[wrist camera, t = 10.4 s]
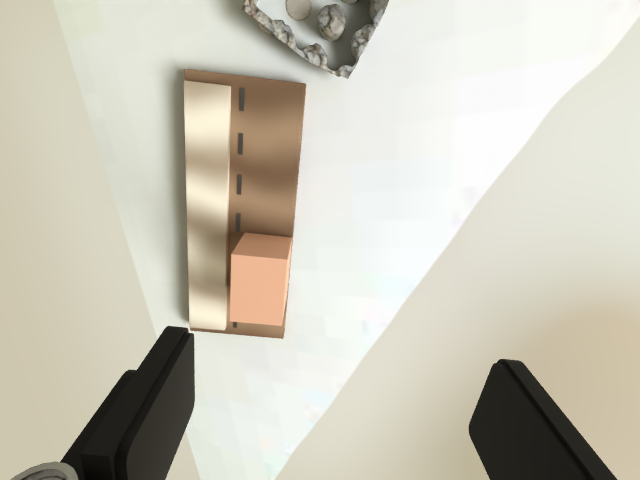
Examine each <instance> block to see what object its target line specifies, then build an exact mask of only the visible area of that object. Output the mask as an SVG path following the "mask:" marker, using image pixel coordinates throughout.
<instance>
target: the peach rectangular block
mask: <svg viewBox="0 0 640 480" xmlns="http://www.w3.org/2000/svg"><path fill="white" fill-rule="evenodd" d="M291 245H292V237H284V236H275V235H265V234H255V233H244V235H243V236H242V238H241V240H240V241H239V243H238V244H237V246H236V248H235V249H234V251H233V252H232V254H231V291H230V321H231V322H243V323H254V324H265V325H276V326H282V322H283V316H284V310H285V305H286V299H287V290H288V279H289V268H290V256H291Z"/></svg>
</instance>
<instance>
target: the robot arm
mask: <svg viewBox="0 0 640 480" xmlns="http://www.w3.org/2000/svg"><path fill="white" fill-rule="evenodd" d="M194 401H195V385H194V334H193V333H188V328H183V327H173V326H167V327H166V328H165V329H164V331H163V332H162V334H161V335H160V337H159V338H158V340H157V341H156V343H155V344H154V346H153V347H152V349H151V350H150V352H149V353H148V355H147V356H146V357H145V359H144V360H143V362H142V363H141V365H140V367H139V368H138V369H137V370H128V371H126V372H125V373H124V374H123V375H122V377H121V378H120V379H119V381H118V382H117V384H116V385H115V386H114V388H113V389H112V390H111V392H110V393H109V395H108V396H107V397H106V399H105V400H104V402H103V403H102V404H101V406H100V407H99V408H98V410H97V411H96V413H95V414H94V415H93V417H92V418H91V420H90V421H89V422H88V424H87V425H86V427H85V428H84V429H83V431H82V432H81V434H80V435H79V436H78V438H77V439H76V440H75V442H74V443H73V445H72V446H71V447H70V449H69V450H68V452H67V453H66V454H65V456H64V457H63V459H62V460H61V461H60V462H51V463H43V464H40V465H37V466H34V467H31V468H29V469H27V470H25V471H24V472H22V473H20V474H18V475H16V476H15V477H14V478H12V479H11V480H165V479H166V476H167V473H168V471H169V469H170V466H171V464H172V461H173V459H174V456H175V454H176V451H177V449H178V446H179V444H180V441H181V439H182V436H183V434H184V432H185V429H186V427H187V424H188V422H189V419H190V417H191V414H192V411H193V408H194ZM469 434H470V437H471V440H472V442H473V444H474V446H475V448H476V450H477V452H478V455H479V456H480V459H481V461H482V463H483V465H484V467H485V469H486V472H487V474H488V476H489V478H490V480H617V479H616V477H615V476H614V475H613V474H612V473H611V471H610V470H609V469H608V468H607V466H606V465H605V464H604V463H603V461H602V460H601V459H600V458H599V456H598V455H597V454H596V453H595V451H594V450H593V449H592V448H591V447H590V445H589V444H588V443H587V442H586V440H585V439H584V438H583V437H582V435H581V434H580V433H579V432H578V431H577V429H576V428H575V427H574V426H573V424H572V423H571V422H570V421H569V419H568V418H567V417H566V416H565V414H564V413H563V412H562V411H561V409H560V408H559V407H558V406H557V404H556V403H555V402H554V401H553V399H552V398H551V397H550V396H549V395H548V393H547V392H546V391H545V390H544V388H543V387H542V386H541V385H540V383H539V382H538V381H537V380H536V378H535V377H534V376H533V375H532V373H531V372H530V371H529V370H528V368H527V367H526V366H525V365H524V364H523V363H522V362H521V361H517V360H507V359H500V360H499V361H498V362H497V363H495V364H493V366H492V368H491V370H490V373H489V375H488V378H487V380H486V383H485V385H484V388H483V390H482V393H481V395H480V398H479V400H478V403H477V406H476V408H475V411H474V413H473V416H472V418H471V421H470V424H469Z"/></svg>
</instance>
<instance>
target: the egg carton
mask: <svg viewBox="0 0 640 480" xmlns="http://www.w3.org/2000/svg"><path fill="white" fill-rule="evenodd" d="M257 1H258V0H246V1H245V3H244V5H243V7H242V10H243V9H244V11H246V12H247V13H248V14H249V15H250V16H252V17H254V18H255V19H256V20H258V25H259V28H260V29H261V30H263V31H264V32H265V33H267V34H268V35H272V33H274V34H275V36H276V37H277V38H278V39H279V40H281V41H282V42H283V43H285V44H287V45H288V46H289V47H290V48H292V49H293V50H294V51H295V52H296V53H297V54H299V55H300V56H301V57H302V58H304V59H305V60H307V61H309V62H310V63H312V64H314V65H316V66H318V67H320V68H322V69H324V70H326V71H328V72H330V73H332V74H334V75H336V76H338V77H339V76H342V77H345V78H347V79H348V78H349V76H350V74H351V72H352V71H353V70H354V68H355V66H356V64H357V62H358V60H359V57H360V55H361V54H362V53H363V51H364V50H365V48H366V46H367V43H368V41H369V40H370V38H371V36H372V34H373V32H374V30H375V28H376V27H377V26H378V24H379V22H380V20H381V18H382V16H383V14H384V12H385V9H386V7H387V4H388V1H389V0H369V1H370V2H371V6H370V16H371V19H372V21H373V24H372V25H370V24H366V25H365V26H363V27H362V28H361V29H360V30H358V31H356V32H355V34H354V36H353V39H352V42H351V46H350V47H351V53H352V55H353V57H354V58H355V59H356V61H355V63H354V65H353V66H348V65H343V66H341V67H339V68H338V69H337V70H336V71H333V70H331V69H329V68H328V67H327V56H326V53H325V52H324V50H323V49H322V47H321V46H320V45H319V44H317V43H316V44H314V45H309V46H307V47H306V48H304V50H302V51H301V50H299V49H298V48H297V47H296V43H295V37H294V35H293V34H292V30H291V29H290V27H289V26H288V25H285V23H284V22H283V20H274V21H273V20H272V19H270V18H269V17H268V16H267V15H266V14H264V13H263V12H262V11H261V10H259V8H258V7H257V6H256V4H257ZM342 1H343V2H345V3H347V4H353V3H355V2H357V1H358V0H342ZM286 10H287V12H288V15H289V16H290V17H291V18H292V19H295V20H297V21H299V20H303V19H305V18H306V17H308V15H309V14H310V11H311V2H310V0H287V1H286ZM318 24H319V31H320V34H321V35H322V37H323V38H324V39H326V40H327V41H335V40H337V39H339V38H341V36H342V34H343V31H344V28H345V25H346V16H345V14H344V12H343V10H342V8H341V7H340V6H339V5H337V4H333V5H327V6H325V7H323V8H322V10H321V12H320V14H319V17H318Z"/></svg>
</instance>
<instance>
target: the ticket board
mask: <svg viewBox="0 0 640 480" xmlns="http://www.w3.org/2000/svg"><path fill="white" fill-rule="evenodd" d="M184 73H185V80H184V115H185V157H186V199H187V241H188V282H189V324H190V330H191V331H202V332H213V333H225V334H236V335H247V336H259V337H270V338H281V339H283V337H284V331H285V319H286V308H287V299H286V305H285V310H284V316H283V322H282V326H276V325H265V324H254V323H243V322H231V321H230V291H231V254H232V252H233V251H234V249H235V248H236V246H237V244H238V243H239V241H240V240H241V238H242V236H243V235H244V233H255V234H265V235H275V236H284V237H292V240H293V229H294V218H295V206H296V195H297V184H298V173H299V161H300V150H301V139H302V127H303V116H304V105H305V94H306V84H304V83H296V82H288V81H280V80H272V79H263V78H255V77H247V76H239V75H231V74H223V73H214V72H206V71H198V70H190V69H184ZM291 252H292V245H291ZM290 263H291V256H290ZM289 274H290V268H289ZM288 285H289V279H288ZM287 297H288V290H287Z"/></svg>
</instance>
